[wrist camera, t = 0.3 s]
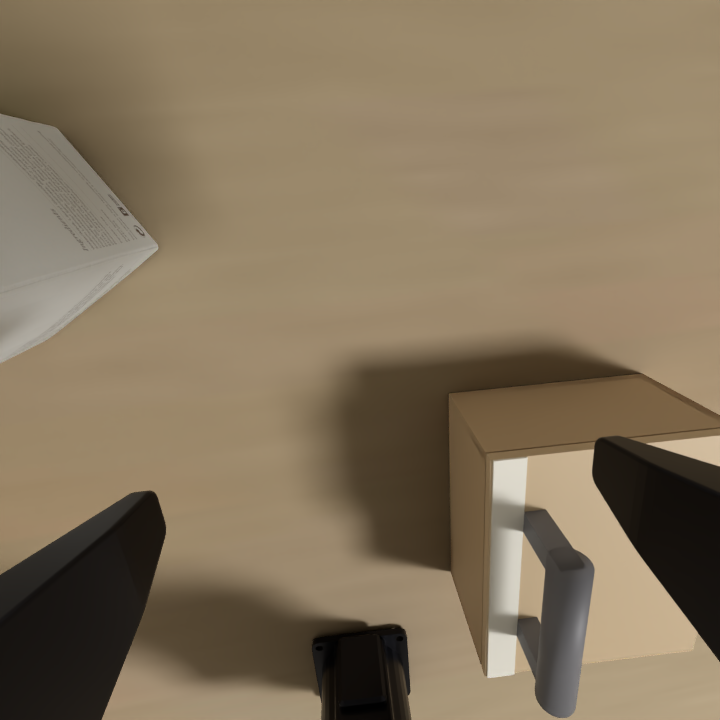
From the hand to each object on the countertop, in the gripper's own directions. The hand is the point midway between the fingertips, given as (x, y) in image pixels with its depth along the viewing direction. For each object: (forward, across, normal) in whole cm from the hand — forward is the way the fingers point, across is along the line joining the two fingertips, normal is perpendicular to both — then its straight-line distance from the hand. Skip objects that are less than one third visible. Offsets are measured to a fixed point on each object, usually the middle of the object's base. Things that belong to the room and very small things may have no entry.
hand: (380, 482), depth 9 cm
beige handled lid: (+8, -10, +11) cm, 17 cm away
